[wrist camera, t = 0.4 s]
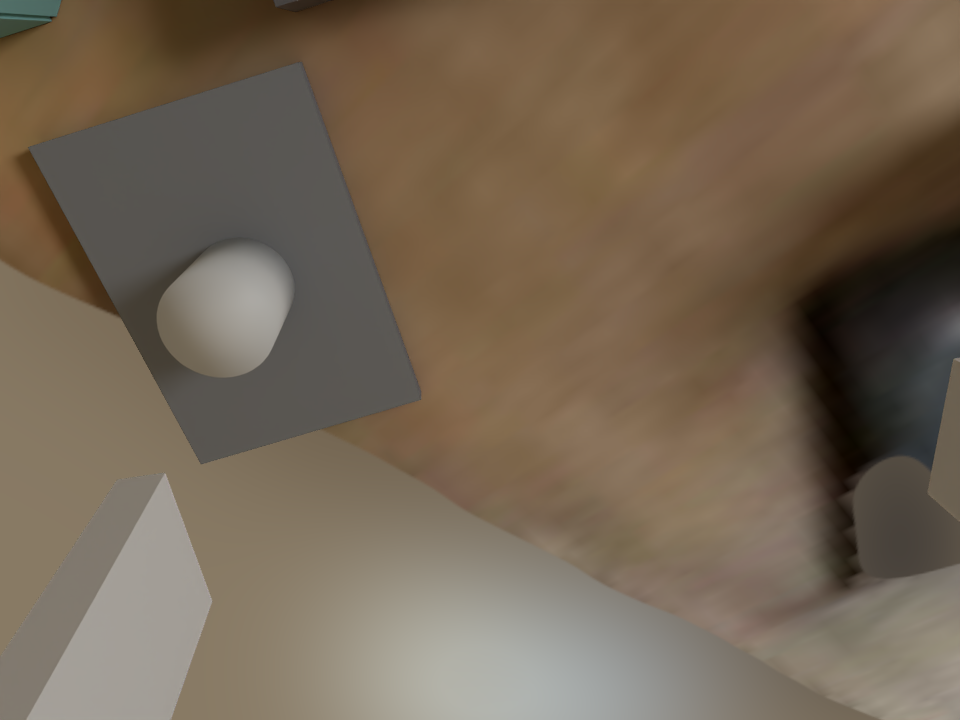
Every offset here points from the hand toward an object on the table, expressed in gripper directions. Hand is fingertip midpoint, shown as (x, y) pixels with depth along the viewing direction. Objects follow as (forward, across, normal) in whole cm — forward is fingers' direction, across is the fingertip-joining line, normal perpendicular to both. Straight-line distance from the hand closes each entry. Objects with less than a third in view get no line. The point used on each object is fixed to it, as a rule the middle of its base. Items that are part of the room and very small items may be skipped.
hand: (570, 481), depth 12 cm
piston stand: (+26, -12, -3) cm, 29 cm away
